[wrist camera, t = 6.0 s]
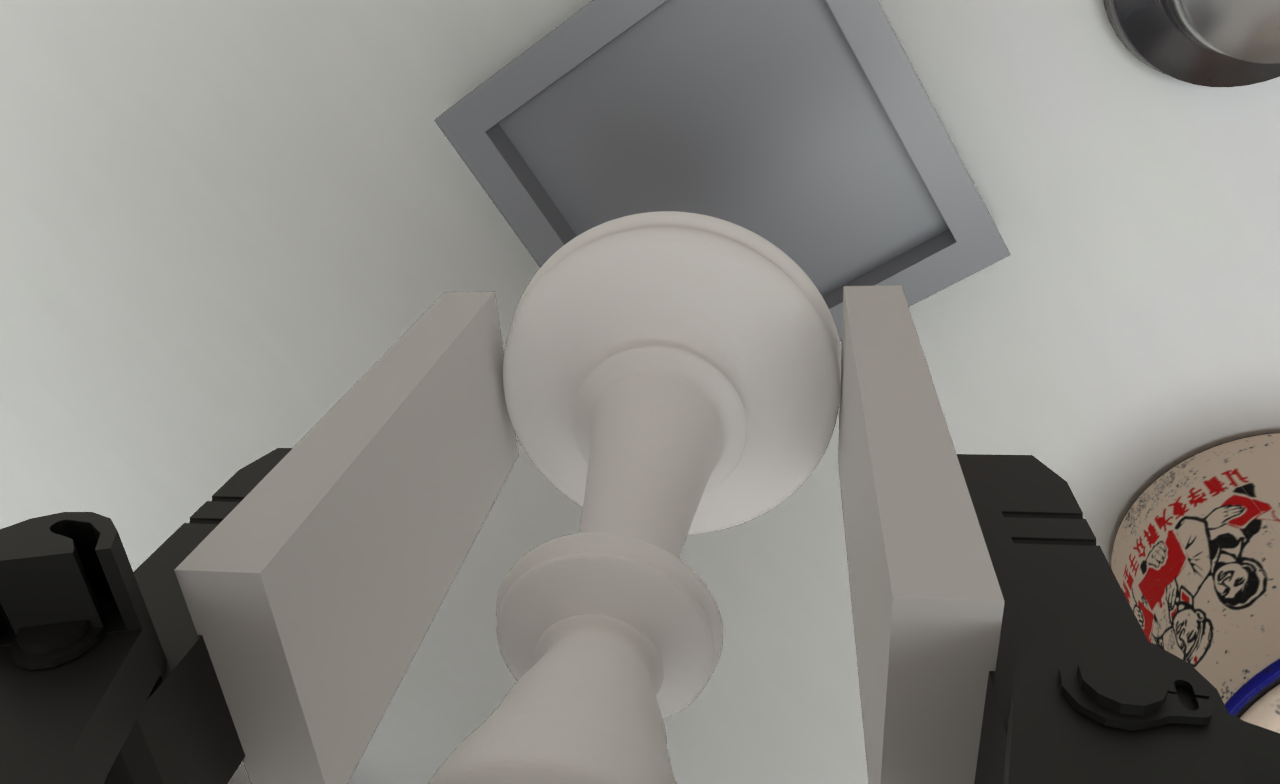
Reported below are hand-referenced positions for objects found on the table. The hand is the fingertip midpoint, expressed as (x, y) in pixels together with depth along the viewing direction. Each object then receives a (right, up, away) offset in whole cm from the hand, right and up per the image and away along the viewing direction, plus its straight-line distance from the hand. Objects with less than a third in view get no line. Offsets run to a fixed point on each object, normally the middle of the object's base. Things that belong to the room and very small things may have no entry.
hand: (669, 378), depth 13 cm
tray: (+2, +6, +12) cm, 14 cm away
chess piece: (0, 0, 0) cm, 0 cm away
